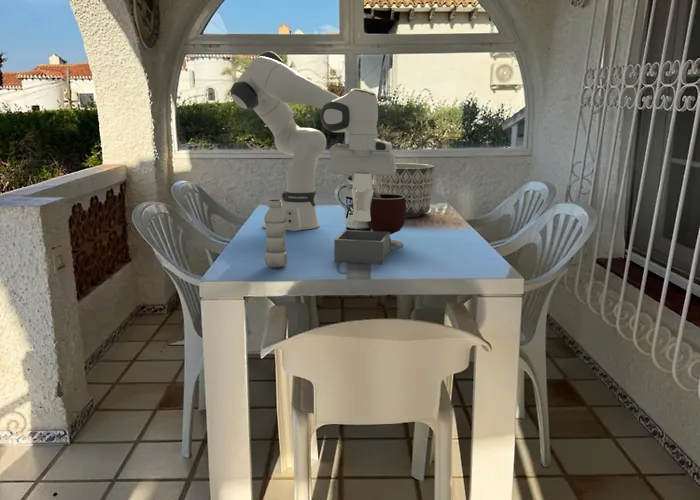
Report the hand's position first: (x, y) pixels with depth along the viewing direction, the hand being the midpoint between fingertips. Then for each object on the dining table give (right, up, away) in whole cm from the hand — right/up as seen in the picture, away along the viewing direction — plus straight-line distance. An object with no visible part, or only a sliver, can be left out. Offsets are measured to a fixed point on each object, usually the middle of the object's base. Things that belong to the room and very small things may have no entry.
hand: (362, 189), depth 179 cm
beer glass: (0, -10, +2) cm, 10 cm away
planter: (+20, -3, +82) cm, 84 cm away
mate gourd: (+8, -17, +22) cm, 29 cm away
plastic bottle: (-26, -24, -7) cm, 36 cm away
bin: (0, -21, +5) cm, 22 cm away
